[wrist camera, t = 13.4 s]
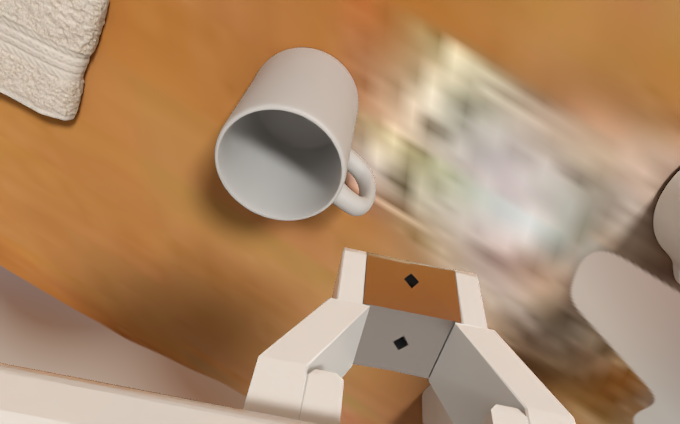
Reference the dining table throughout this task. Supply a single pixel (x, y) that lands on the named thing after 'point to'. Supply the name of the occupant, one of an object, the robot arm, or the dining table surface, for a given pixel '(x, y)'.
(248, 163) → the mug
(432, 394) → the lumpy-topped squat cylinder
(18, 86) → the washcloth
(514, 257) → the dining table surface
